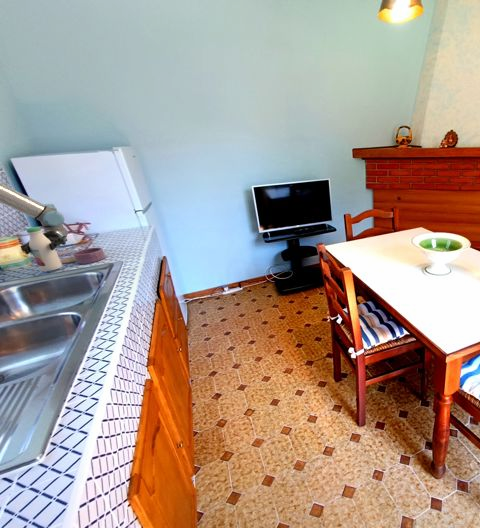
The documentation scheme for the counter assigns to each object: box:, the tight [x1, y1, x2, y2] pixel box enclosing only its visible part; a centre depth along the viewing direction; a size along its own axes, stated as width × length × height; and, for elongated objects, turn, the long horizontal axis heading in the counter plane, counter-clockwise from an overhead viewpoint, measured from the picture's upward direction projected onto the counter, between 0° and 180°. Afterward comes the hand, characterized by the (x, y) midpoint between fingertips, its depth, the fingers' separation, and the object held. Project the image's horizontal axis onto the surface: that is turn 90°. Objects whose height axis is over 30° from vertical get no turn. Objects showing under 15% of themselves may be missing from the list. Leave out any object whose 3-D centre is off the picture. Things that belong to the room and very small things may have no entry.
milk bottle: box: [25, 226, 63, 272], centre depth 137 cm, size 8×8×20 cm
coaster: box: [60, 255, 76, 265], centre depth 155 cm, size 11×11×1 cm
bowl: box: [72, 246, 106, 265], centre depth 152 cm, size 12×12×5 cm
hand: (38, 249), depth 133 cm, fingers closed on milk bottle, 8 cm apart
